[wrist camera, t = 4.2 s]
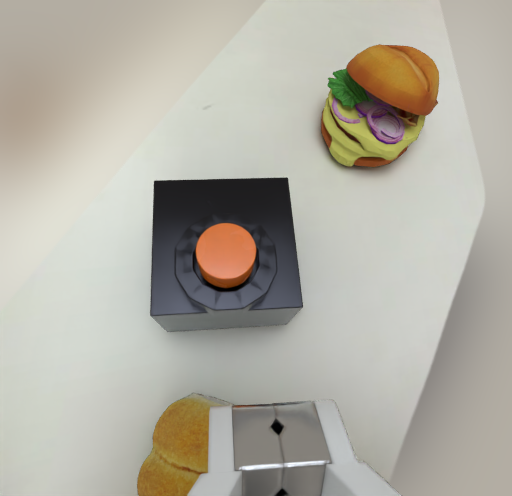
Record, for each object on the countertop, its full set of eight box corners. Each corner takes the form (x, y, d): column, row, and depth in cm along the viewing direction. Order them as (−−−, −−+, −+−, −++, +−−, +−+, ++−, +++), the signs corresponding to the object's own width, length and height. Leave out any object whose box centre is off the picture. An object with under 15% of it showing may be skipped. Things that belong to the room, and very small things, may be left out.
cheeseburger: (292, 138, 38) (328, 43, 30) (339, 98, 44) (380, 8, 36) (375, 194, 36) (437, 109, 28) (413, 144, 42) (474, 61, 34)
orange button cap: (256, 286, 23) (258, 277, 22) (198, 289, 23) (196, 280, 21) (252, 234, 25) (254, 221, 23) (197, 236, 24) (195, 223, 22)
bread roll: (126, 515, 26) (109, 537, 22) (173, 384, 29) (165, 383, 25) (240, 552, 26) (242, 581, 22) (274, 415, 29) (280, 419, 25)
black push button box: (287, 327, 31) (309, 305, 23) (166, 335, 30) (144, 314, 22) (276, 217, 35) (291, 163, 26) (168, 221, 34) (149, 166, 26)
